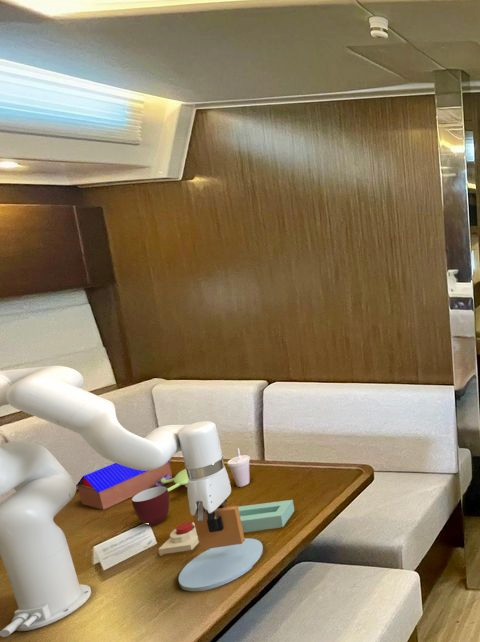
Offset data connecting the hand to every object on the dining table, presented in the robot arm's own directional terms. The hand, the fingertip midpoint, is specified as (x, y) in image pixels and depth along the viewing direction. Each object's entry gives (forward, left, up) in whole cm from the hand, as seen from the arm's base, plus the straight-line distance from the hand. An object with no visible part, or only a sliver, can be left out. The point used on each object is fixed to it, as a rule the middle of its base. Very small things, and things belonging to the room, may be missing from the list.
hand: (219, 527), depth 123 cm
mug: (+25, +33, -11) cm, 43 cm away
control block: (+12, +16, -11) cm, 23 cm away
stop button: (+12, +16, -7) cm, 21 cm away
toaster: (+16, -1, -11) cm, 19 cm away
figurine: (+42, +35, -11) cm, 56 cm away
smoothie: (+42, +16, -11) cm, 46 cm away
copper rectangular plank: (0, 0, -6) cm, 6 cm away
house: (+47, +54, -11) cm, 73 cm away
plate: (-1, 0, -11) cm, 11 cm away
